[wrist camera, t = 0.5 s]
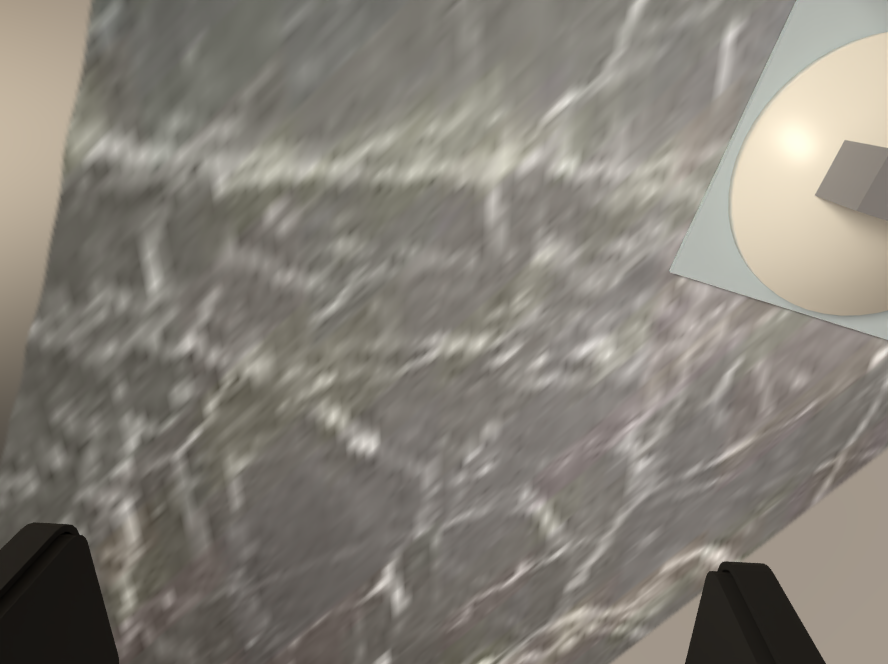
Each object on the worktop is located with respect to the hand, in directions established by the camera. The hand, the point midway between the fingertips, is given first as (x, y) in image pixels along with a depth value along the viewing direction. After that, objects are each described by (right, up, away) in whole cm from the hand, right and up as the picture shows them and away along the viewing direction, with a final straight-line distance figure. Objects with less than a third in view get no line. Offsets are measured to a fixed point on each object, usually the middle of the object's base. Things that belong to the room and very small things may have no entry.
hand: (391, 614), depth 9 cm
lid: (+24, +13, +24) cm, 36 cm away
